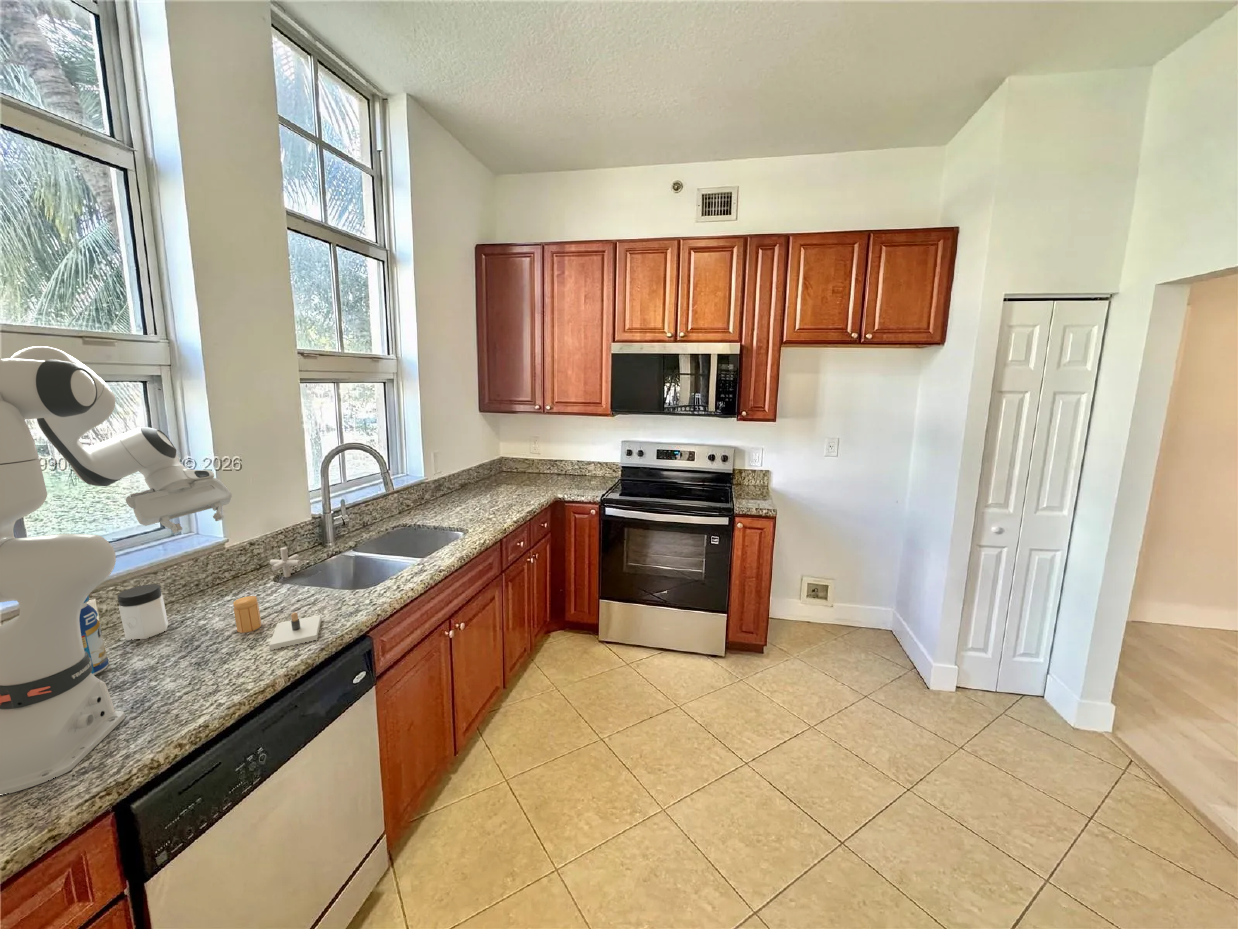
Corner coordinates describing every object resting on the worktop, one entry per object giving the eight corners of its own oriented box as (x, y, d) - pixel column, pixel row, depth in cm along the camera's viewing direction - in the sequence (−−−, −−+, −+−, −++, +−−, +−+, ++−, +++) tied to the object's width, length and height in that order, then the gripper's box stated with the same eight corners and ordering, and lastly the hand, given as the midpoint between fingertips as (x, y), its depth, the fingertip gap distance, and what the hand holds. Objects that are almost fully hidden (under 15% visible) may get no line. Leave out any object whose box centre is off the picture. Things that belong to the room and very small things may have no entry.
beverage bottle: (47, 680, 110) (26, 598, 107) (95, 659, 118) (77, 582, 114) (71, 687, 108) (50, 603, 104) (119, 665, 116) (101, 586, 112)
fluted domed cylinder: (259, 629, 131) (254, 602, 130) (236, 634, 129) (231, 606, 127) (262, 621, 136) (258, 594, 134) (240, 625, 133) (235, 598, 132)
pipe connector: (311, 570, 170) (308, 543, 168) (290, 583, 160) (285, 554, 158) (285, 570, 171) (281, 542, 169) (262, 582, 161) (257, 553, 159)
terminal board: (317, 640, 126) (314, 618, 124) (270, 650, 121) (266, 627, 120) (321, 619, 136) (318, 599, 135) (278, 628, 132) (275, 607, 131)
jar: (115, 642, 126) (105, 598, 124) (141, 626, 134) (132, 585, 132) (154, 639, 127) (145, 596, 125) (177, 623, 135) (169, 582, 133)
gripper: (124, 488, 122) (153, 532, 121) (218, 469, 140) (244, 507, 138) (119, 502, 125) (148, 545, 124) (212, 481, 143) (238, 519, 141)
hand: (199, 525), depth 131 cm, fingers open, 8 cm apart
